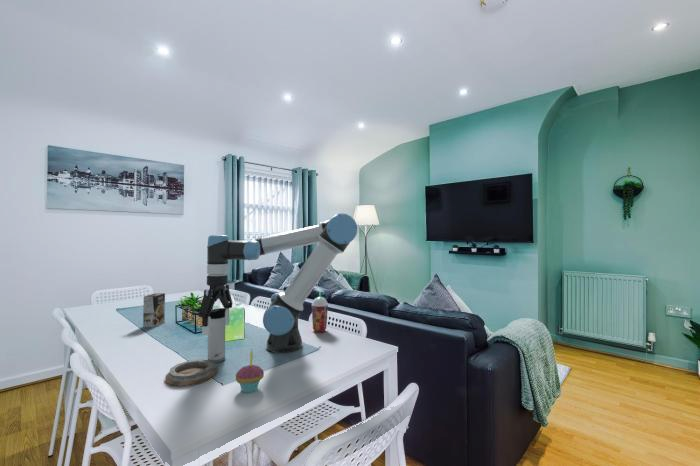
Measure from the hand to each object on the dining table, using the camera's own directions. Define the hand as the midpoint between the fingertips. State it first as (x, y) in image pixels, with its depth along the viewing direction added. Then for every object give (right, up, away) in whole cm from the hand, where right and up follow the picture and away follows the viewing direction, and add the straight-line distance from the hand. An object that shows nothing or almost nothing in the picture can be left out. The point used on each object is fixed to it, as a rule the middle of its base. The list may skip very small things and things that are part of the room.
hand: (216, 329), depth 124 cm
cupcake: (+20, -12, -23) cm, 33 cm away
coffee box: (-52, -12, +46) cm, 70 cm away
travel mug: (0, -12, 0) cm, 12 cm away
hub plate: (-3, -12, -14) cm, 18 cm away
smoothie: (+37, -12, +37) cm, 54 cm away
